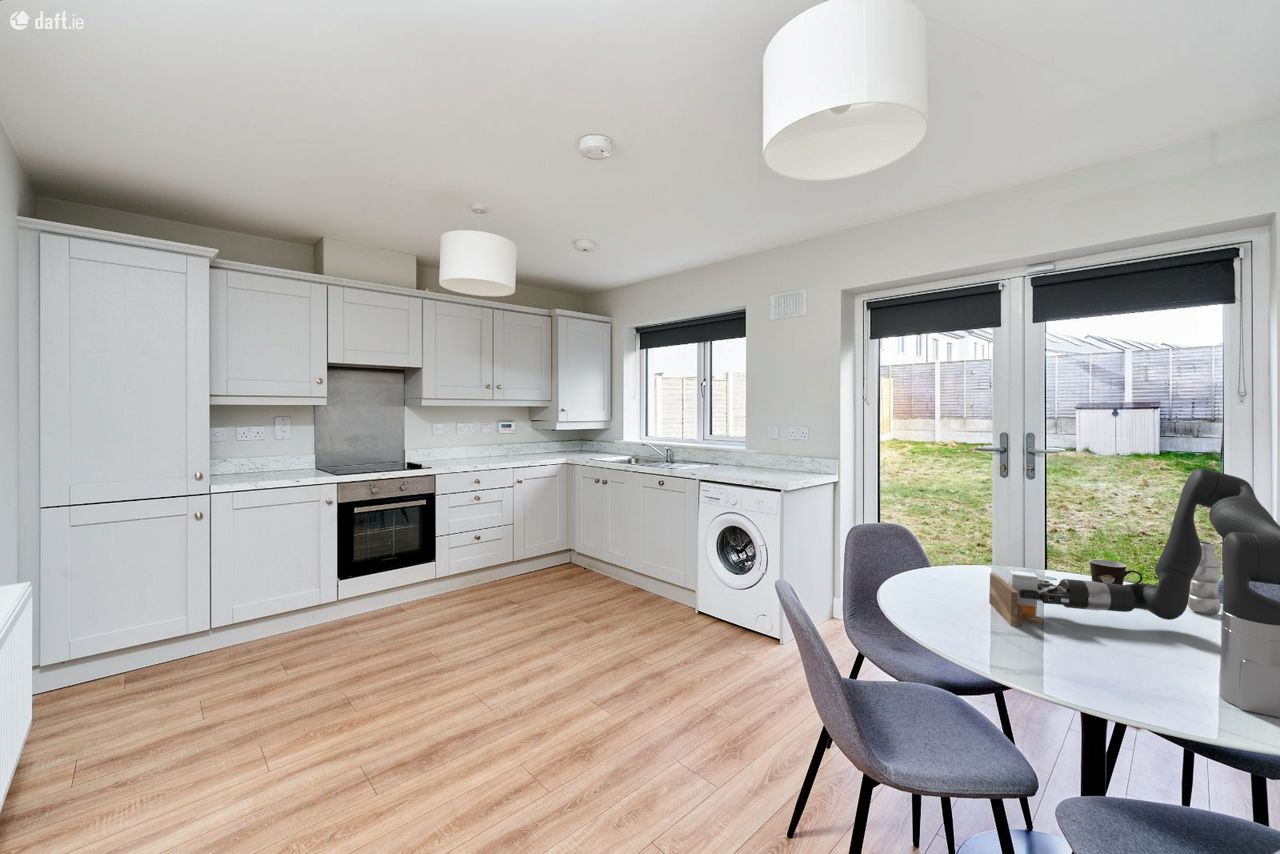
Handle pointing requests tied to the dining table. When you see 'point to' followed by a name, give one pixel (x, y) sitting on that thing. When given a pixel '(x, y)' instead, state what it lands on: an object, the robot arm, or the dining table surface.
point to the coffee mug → (1109, 572)
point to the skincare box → (1027, 583)
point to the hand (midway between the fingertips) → (1014, 588)
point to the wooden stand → (1008, 602)
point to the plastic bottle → (1206, 582)
